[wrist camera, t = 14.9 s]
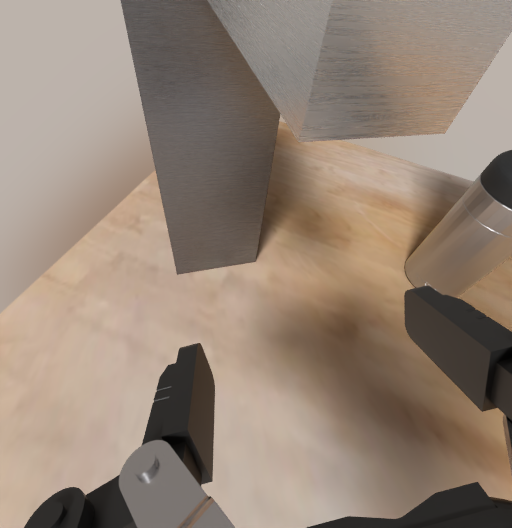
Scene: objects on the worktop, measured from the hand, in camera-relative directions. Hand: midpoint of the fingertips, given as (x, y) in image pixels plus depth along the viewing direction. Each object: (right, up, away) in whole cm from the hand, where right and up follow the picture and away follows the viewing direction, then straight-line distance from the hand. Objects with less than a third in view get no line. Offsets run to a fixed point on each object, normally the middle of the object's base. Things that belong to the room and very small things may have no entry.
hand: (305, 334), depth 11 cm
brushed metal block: (-2, +14, +2) cm, 15 cm away
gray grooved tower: (-10, +8, +36) cm, 38 cm away
